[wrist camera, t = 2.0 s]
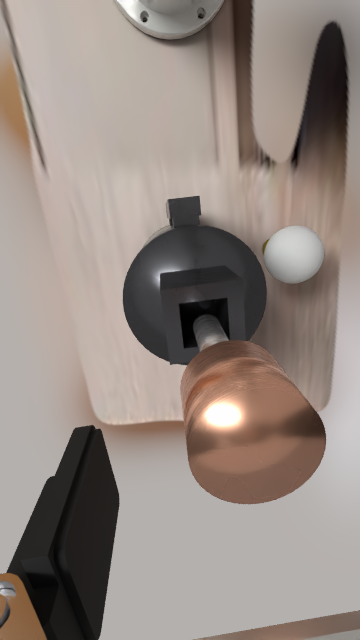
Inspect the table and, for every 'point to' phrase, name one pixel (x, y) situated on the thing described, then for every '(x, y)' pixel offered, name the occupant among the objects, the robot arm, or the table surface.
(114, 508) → the robot arm
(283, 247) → the light bulb
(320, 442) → the plunger
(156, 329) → the airpot
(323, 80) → the table surface
